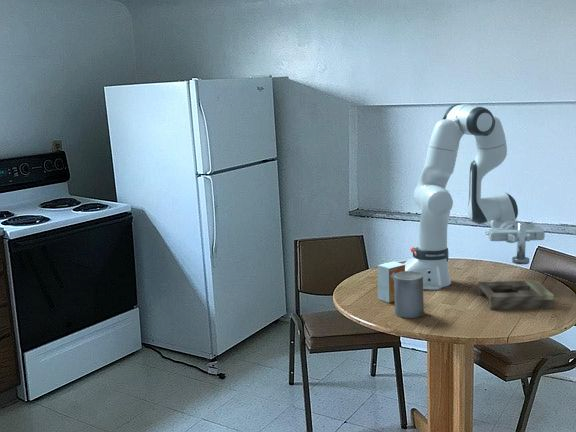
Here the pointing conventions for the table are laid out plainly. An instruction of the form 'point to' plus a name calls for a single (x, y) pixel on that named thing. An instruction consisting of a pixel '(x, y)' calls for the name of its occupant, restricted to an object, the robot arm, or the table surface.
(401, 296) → the pillar candle
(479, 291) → the keyhole plate
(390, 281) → the small box
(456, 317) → the table surface
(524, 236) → the footed peg
